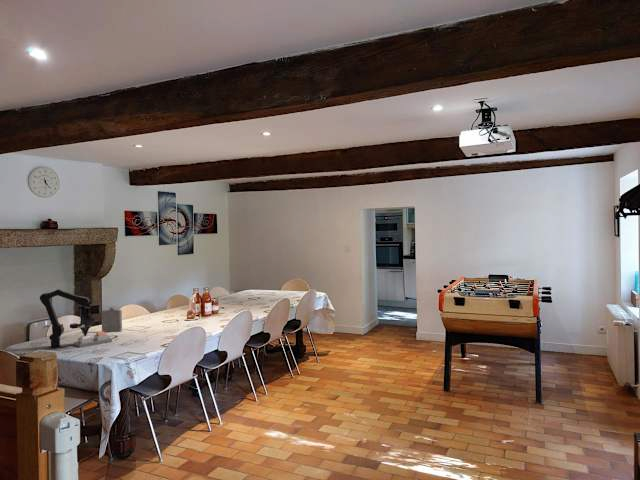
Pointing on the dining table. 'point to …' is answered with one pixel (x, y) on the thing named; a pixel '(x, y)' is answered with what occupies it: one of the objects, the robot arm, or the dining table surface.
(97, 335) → the key terracotta
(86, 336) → the key ivory
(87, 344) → the key panel
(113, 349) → the dining table surface
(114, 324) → the hip flask
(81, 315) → the robot arm
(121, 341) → the dining table surface
